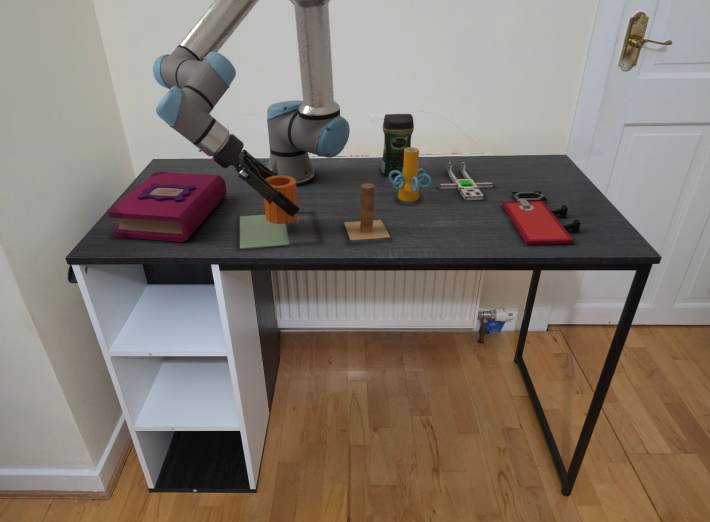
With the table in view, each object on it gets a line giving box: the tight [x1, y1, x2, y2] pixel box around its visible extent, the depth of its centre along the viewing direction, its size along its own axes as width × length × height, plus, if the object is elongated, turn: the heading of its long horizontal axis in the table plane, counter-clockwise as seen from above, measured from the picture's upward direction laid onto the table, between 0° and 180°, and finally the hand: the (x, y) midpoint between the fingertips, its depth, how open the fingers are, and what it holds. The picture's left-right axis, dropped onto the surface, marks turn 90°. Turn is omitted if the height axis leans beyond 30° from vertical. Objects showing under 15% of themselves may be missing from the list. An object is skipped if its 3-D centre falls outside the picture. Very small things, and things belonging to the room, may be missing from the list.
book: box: [106, 171, 227, 243], centre depth 140 cm, size 21×28×8 cm
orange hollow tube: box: [263, 175, 299, 225], centre depth 128 cm, size 8×8×10 cm
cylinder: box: [387, 146, 432, 202], centre depth 146 cm, size 12×10×15 cm
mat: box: [239, 214, 290, 250], centre depth 135 cm, size 18×20×1 cm
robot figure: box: [438, 161, 495, 201], centre depth 158 cm, size 16×3×22 cm
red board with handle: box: [501, 190, 581, 246], centre depth 139 cm, size 30×3×15 cm
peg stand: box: [343, 182, 391, 241], centre depth 129 cm, size 10×10×13 cm
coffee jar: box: [380, 113, 415, 177], centre depth 163 cm, size 10×8×19 cm
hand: (294, 205), depth 130 cm, fingers closed on orange hollow tube, 8 cm apart
